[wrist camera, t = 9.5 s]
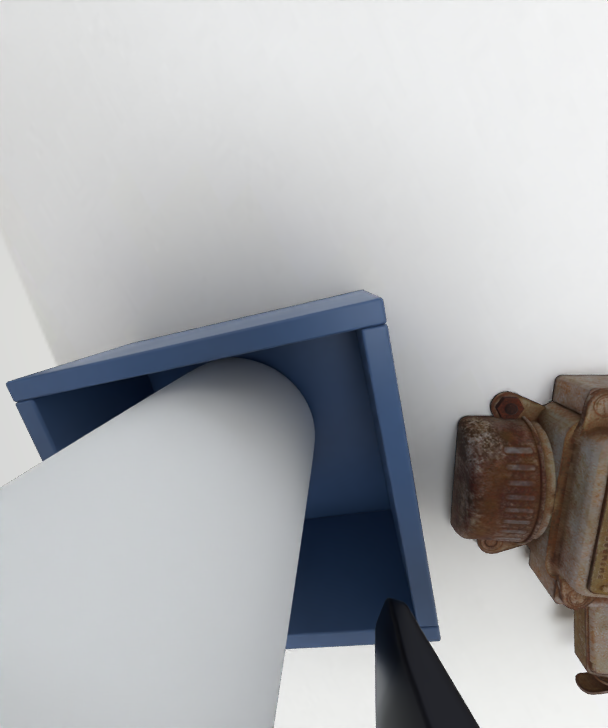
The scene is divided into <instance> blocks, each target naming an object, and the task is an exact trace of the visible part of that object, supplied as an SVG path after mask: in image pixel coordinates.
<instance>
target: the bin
mask: <svg viewBox="0 0 608 728" xmlns="http://www.w3.org/2000/svg"><path fill="white" fill-rule="evenodd" d="M385 323H386V314H385V308H384V302H383V299H382V298H380V297H378V296H376V295H373V294H371V293H369V292H366V291H364V290H359V291H355V292H351V293H346V294H342V295H338V296H333V297H329V298H325V299H321V300H316V301H312V302H308V303H303V304H299V305H295V306H290V307H286V308H282V309H277V310H273V311H269V312H264V313H260V314H256V315H251V316H247V317H243V318H239V319H234V320H230V321H226V322H221V323H217V324H213V325H208V326H204V327H200V328H195V329H191V330H187V331H182V332H178V333H174V334H169V335H165V336H161V337H157V338H152V339H148V340H144V341H139V342H135V343H131V344H128V345H125V346H121V347H118V348H115V349H112V350H108V351H105V352H102V353H99V354H96V355H92V356H89V357H86V358H83V359H79V360H76V361H73V362H70V363H66V364H63V365H60V366H57V367H54V368H50V369H47V370H44V371H41V372H37V373H34V374H31V375H28V376H24V377H21V378H18V379H15V380H12V381H8V382H7V383H6V386H7V388H8V390H9V392H10V394H11V396H12V398H13V400H14V401H15V402H17V403H16V406H17V409H18V411H19V413H20V415H21V417H22V419H23V421H24V423H25V425H26V428H27V430H28V432H29V434H30V436H31V438H32V440H33V442H34V444H35V446H36V449H37V450H38V453H39V454H40V457H41V459H42V461H44V460H46V459H48V458H49V457H51V456H53V455H54V454H56V453H57V452H59V451H61V450H62V449H64V448H66V447H67V446H69V445H70V444H72V443H74V442H75V441H77V440H79V439H80V438H82V437H83V436H85V435H87V434H88V433H90V432H92V431H93V430H95V429H96V428H98V427H100V426H101V425H103V424H105V423H106V422H108V421H110V420H111V419H113V418H114V417H116V416H118V415H119V414H121V413H123V412H124V411H126V410H128V409H129V408H131V407H132V406H134V405H136V404H137V403H139V402H141V401H142V400H144V399H146V398H147V397H149V396H150V395H152V394H154V393H155V392H157V391H159V390H160V389H162V388H164V387H165V386H167V385H169V384H170V383H172V382H174V381H175V380H177V379H179V378H180V377H182V376H184V375H185V374H187V373H189V372H190V371H192V370H194V369H196V368H198V367H200V366H202V365H204V364H206V363H209V362H211V361H215V360H218V359H223V358H232V357H234V358H244V359H249V360H253V361H256V362H260V363H262V364H265V365H267V366H269V367H271V368H273V369H275V370H277V371H278V372H280V373H281V374H283V375H284V376H285V377H286V378H288V379H289V380H290V381H291V382H292V383H293V384H294V385H295V386H296V387H297V389H298V390H299V391H300V392H301V394H302V395H303V397H304V398H305V400H306V402H307V404H308V406H309V408H310V411H311V414H312V417H313V422H314V428H315V443H314V452H313V460H312V468H311V475H310V482H309V489H308V496H307V503H306V510H305V517H304V524H303V531H302V538H301V545H300V552H299V559H298V566H297V573H296V579H295V586H294V593H293V600H292V607H291V614H290V620H289V627H288V634H287V641H286V647H285V649H297V648H317V647H336V646H355V645H374V644H375V628H376V622H377V620H378V617H379V615H380V612H381V610H382V607H383V605H384V602H385V600H386V599H387V598H393V599H397V600H400V601H403V602H405V603H406V604H407V606H408V607H409V609H410V611H411V612H412V614H413V616H414V617H415V619H416V621H417V622H418V624H419V626H420V628H421V629H422V631H423V633H424V634H425V636H426V638H427V639H428V641H429V642H432V641H440V639H441V637H440V631H439V626H438V619H437V613H436V608H435V602H434V596H433V590H432V584H431V578H430V572H429V566H428V561H427V555H426V549H425V543H424V537H423V531H422V525H421V519H420V514H419V508H418V502H417V496H416V490H415V484H414V478H413V472H412V467H411V461H410V455H409V449H408V443H407V437H406V431H405V425H404V420H403V414H402V408H401V402H400V396H399V390H398V384H397V378H396V373H395V367H394V361H393V355H392V349H391V343H390V337H389V331H388V326H387V325H386V324H385Z"/></svg>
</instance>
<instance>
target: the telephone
mask: <svg viewBox="0 0 608 728" xmlns="http://www.w3.org/2000/svg"><path fill="white" fill-rule="evenodd" d="M491 412H492V414H493V416H467V417H464V418H462V419H461V420H460V421H459V425H458V436H457V449H456V461H455V473H454V485H453V498H452V510H451V525H452V527H453V528H454V530H455V531H456V533H457V534H459V535H460V536H461V537H463V538H466V539H477V543H478V546H479V547H480V549H481V550H482V551H484V552H485V553H489V554H494V553H499V552H502V551H506V550H509V549H512V548H516V547H519V546H522V545H527V546H528V547H529V549H530V550H531V551H530V558H529V566H530V567H531V569H532V570H533V571H534V573H535V574H536V576H537V577H538V579H539V580H540V581H541V583H542V584H543V586H544V587H545V589H546V590H547V591H548V593H549V594H550V596H551V597H552V599H553V600H554V601H555V602H556V603H557V604H563V605H565V606H566V607H568V608H570V609H574V646H575V654H576V655H577V657H578V658H579V660H580V661H581V663H582V665H583V666H584V668H585V669H586V671H587V672H586V673H579V674H577V675H576V683H577V685H578V687H579V688H580V689H581V690H582V691H583V692H585V693H587V694H591V695H595V694H605V693H608V375H560V376H558V377H557V378H556V380H555V387H554V394H553V402H550V403H548V404H547V405H545V406H542V405H540V404H538V403H536V402H533V401H531V400H529V399H527V398H524V397H522V396H520V395H518V394H515V393H512V392H502V393H500V394H498V395H496V396H495V398H494V399H493V400H492V403H491Z"/></svg>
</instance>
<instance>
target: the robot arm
mask: <svg viewBox="0 0 608 728" xmlns="http://www.w3.org/2000/svg"><path fill="white" fill-rule="evenodd" d="M375 704H376V728H480V727H479V726H478V724H477V722H476V720H475V719H474V717H473V715H472V714H471V712H470V710H469V709H468V707H467V705H466V704H465V702H464V700H463V698H462V697H461V695H460V693H459V692H458V690H457V688H456V687H455V685H454V683H453V682H452V680H451V678H450V677H449V675H448V673H447V671H446V670H445V668H444V666H443V665H442V663H441V661H440V660H439V658H438V656H437V655H436V653H435V651H434V650H433V648H432V646H431V644H430V643H429V641H428V639H427V638H426V636H425V634H424V633H423V631H422V629H421V628H420V626H419V624H418V622H417V621H416V619H415V617H414V616H413V614H412V612H411V611H410V609H409V607H408V606H407V604H406V603H405V602H403V601H400V600H397V599H393V598H387V599H386V600H385V602H384V605H383V607H382V610H381V612H380V615H379V617H378V620H377V622H376V628H375Z"/></svg>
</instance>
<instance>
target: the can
mask: <svg viewBox="0 0 608 728" xmlns="http://www.w3.org/2000/svg"><path fill="white" fill-rule="evenodd" d="M314 443H315V428H314V422H313V417H312V414H311V411H310V408H309V406H308V404H307V402H306V400H305V398H304V397H303V395H302V394H301V392H300V391H299V390H298V389H297V387H296V386H295V385H294V384H293V383H292V382H291V381H290V380H289V379H288V378H286V377H285V376H284V375H283V374H281V373H280V372H278V371H277V370H275V369H273V368H271V367H269V366H267V365H265V364H262V363H260V362H256V361H253V360H249V359H244V358H234V357H232V358H223V359H218V360H215V361H211V362H209V363H206V364H204V365H202V366H200V367H198V368H196V369H194V370H192V371H190V372H189V373H187V374H185V375H184V376H182V377H180V378H179V379H177V380H175V381H174V382H172V383H170V384H169V385H167V386H165V387H164V388H162V389H160V390H159V391H157V392H155V393H154V394H152V395H150V396H149V397H147V398H146V399H144V400H142V401H141V402H139V403H137V404H136V405H134V406H132V407H131V408H129V409H128V410H126V411H124V412H123V413H121V414H119V415H118V416H116V417H114V418H113V419H111V420H110V421H108V422H106V423H105V424H103V425H101V426H100V427H98V428H96V429H95V430H93V431H92V432H90V433H88V434H87V435H85V436H83V437H82V438H80V439H79V440H77V441H75V442H74V443H72V444H70V445H69V446H67V447H66V448H64V449H62V450H61V451H59V452H57V453H56V454H54V455H53V456H51V457H49V458H48V459H46V460H44V461H43V462H41V463H40V464H38V465H36V466H35V467H33V468H31V469H30V470H28V471H27V472H25V473H23V474H22V475H20V476H18V477H17V478H15V479H14V480H12V481H11V482H9V483H7V484H6V485H4V486H2V487H1V488H0V728H274V721H275V715H276V708H277V701H278V695H279V688H280V681H281V674H282V668H283V661H284V654H285V647H286V641H287V634H288V627H289V620H290V614H291V607H292V600H293V593H294V586H295V579H296V573H297V566H298V559H299V552H300V545H301V538H302V531H303V524H304V517H305V510H306V503H307V496H308V489H309V482H310V475H311V468H312V460H313V452H314Z"/></svg>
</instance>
